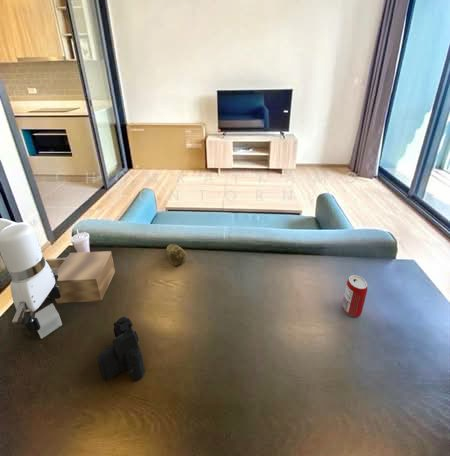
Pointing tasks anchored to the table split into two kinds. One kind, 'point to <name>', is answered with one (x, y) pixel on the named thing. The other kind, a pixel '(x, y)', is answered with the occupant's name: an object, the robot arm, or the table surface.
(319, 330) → the table surface
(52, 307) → the small box
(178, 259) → the potato
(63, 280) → the brown wooden box
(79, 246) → the smoothie
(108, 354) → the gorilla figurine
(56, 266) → the drawer
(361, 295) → the soda can
